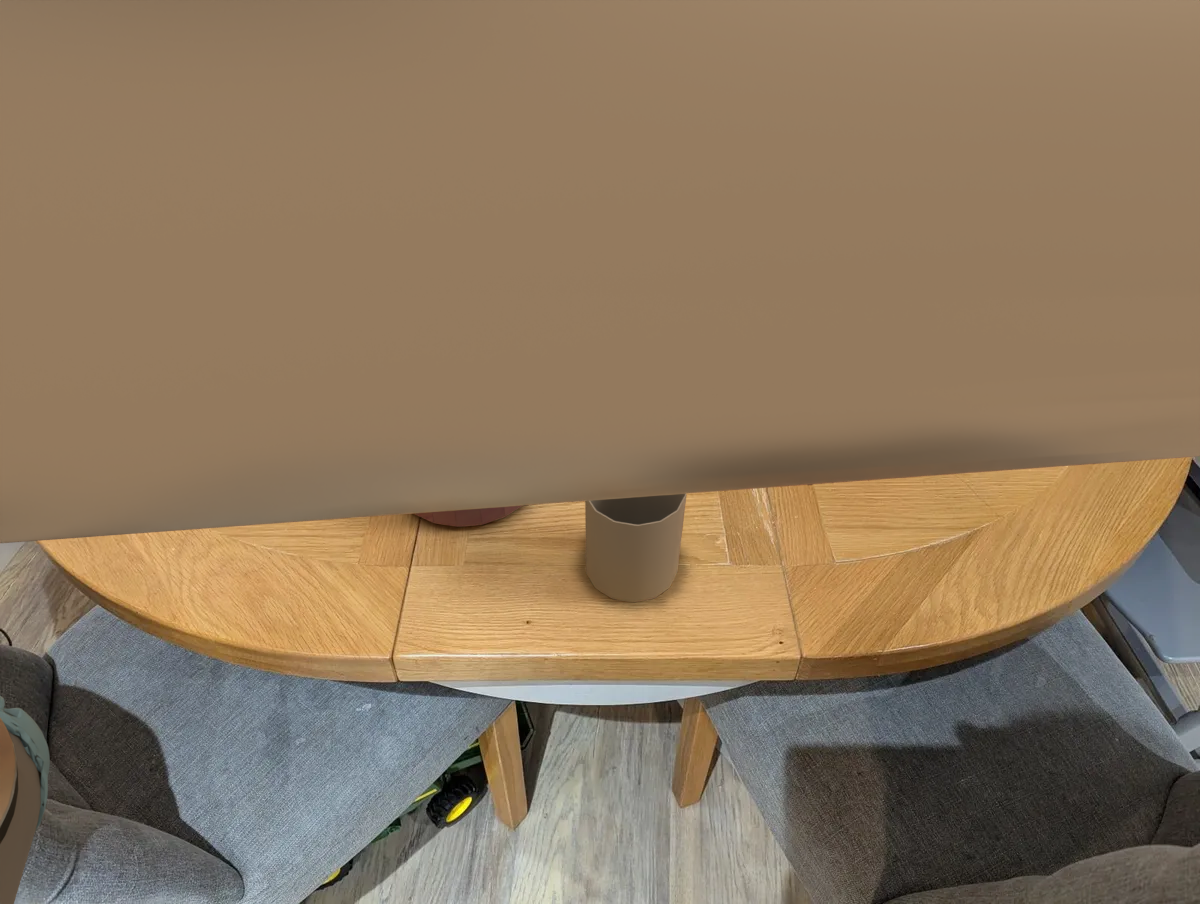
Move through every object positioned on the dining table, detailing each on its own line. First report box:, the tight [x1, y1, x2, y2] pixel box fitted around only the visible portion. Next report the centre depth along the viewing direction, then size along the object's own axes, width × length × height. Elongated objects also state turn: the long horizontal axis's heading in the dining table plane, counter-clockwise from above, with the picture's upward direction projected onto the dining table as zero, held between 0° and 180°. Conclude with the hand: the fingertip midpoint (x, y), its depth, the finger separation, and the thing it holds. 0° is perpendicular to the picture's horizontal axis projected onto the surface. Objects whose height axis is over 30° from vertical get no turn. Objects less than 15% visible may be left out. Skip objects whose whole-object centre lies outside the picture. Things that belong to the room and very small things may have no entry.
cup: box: [584, 494, 687, 603], centre depth 70 cm, size 8×8×10 cm
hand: (772, 400), depth 50 cm, fingers open, 13 cm apart
